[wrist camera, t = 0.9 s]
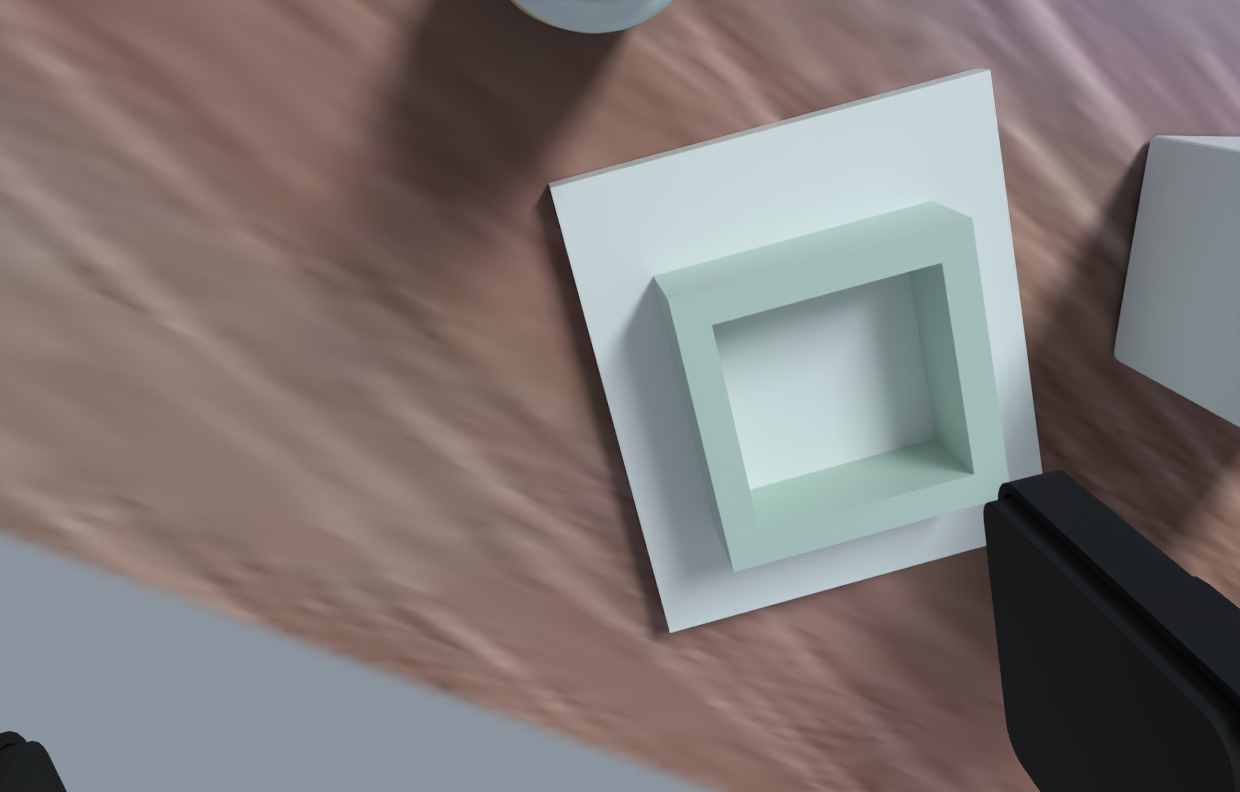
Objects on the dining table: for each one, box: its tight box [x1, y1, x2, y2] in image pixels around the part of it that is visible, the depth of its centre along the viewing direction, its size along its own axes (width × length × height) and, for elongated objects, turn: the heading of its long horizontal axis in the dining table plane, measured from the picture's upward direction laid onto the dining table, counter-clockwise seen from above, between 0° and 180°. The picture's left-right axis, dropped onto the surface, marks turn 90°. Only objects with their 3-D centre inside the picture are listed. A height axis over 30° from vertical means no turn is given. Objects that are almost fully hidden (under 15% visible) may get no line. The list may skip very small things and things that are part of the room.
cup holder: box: [549, 69, 1042, 633], centre depth 33 cm, size 15×13×4 cm
